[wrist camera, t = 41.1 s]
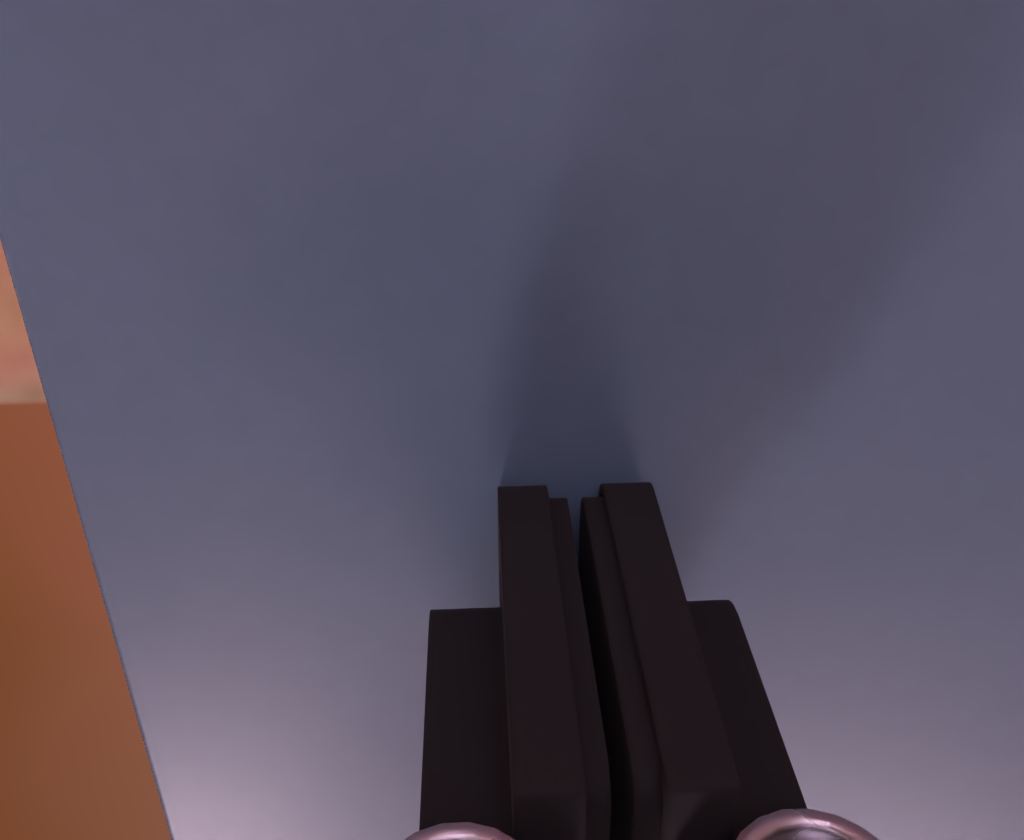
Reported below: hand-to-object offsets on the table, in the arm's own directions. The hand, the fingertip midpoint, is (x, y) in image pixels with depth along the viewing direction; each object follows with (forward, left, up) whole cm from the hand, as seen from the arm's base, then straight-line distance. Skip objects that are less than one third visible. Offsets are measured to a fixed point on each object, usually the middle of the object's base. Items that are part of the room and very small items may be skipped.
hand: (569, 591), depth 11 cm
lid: (+3, 0, -1) cm, 3 cm away
